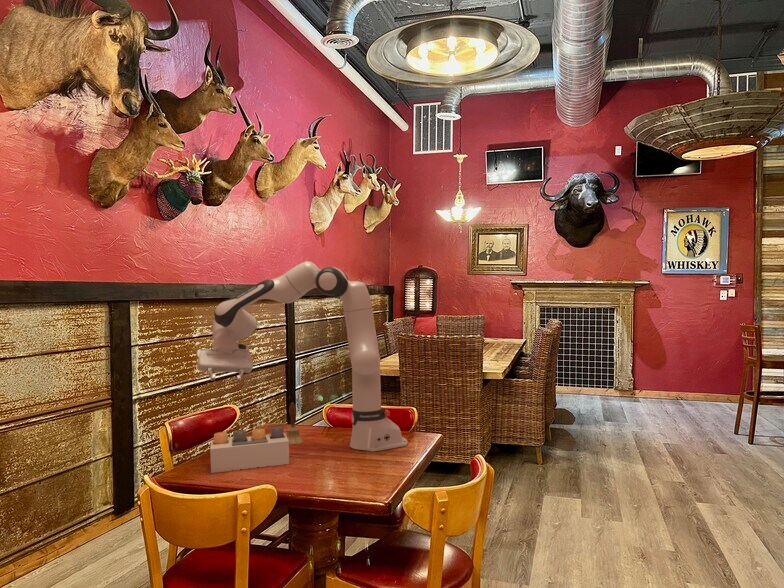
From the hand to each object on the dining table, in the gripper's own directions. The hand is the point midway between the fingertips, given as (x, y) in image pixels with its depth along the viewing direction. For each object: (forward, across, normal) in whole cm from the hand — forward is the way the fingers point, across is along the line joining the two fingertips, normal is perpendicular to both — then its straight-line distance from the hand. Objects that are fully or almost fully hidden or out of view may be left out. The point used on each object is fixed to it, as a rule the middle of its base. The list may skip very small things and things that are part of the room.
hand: (226, 380), depth 201 cm
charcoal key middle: (+25, +6, +7) cm, 26 cm away
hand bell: (+15, +30, +20) cm, 39 cm away
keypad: (+29, +9, +8) cm, 32 cm away
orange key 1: (+24, -1, +8) cm, 26 cm away
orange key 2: (+25, +12, +6) cm, 28 cm away
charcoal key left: (+25, +18, +4) cm, 31 cm away
